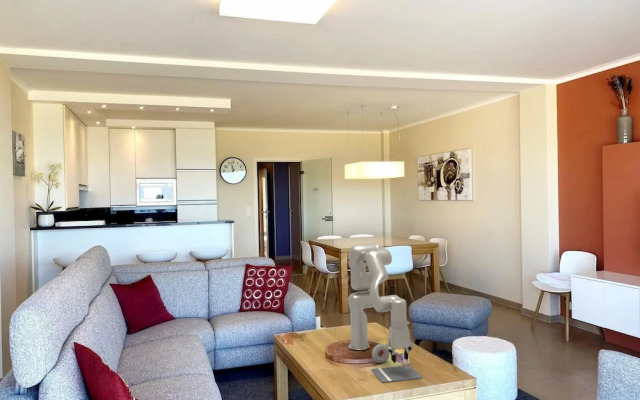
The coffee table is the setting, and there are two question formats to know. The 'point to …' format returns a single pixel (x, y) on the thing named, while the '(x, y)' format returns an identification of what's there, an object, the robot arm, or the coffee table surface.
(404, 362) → the rabbit figure
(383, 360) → the donut
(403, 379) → the mat
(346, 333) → the coffee table surface
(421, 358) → the coffee table surface
